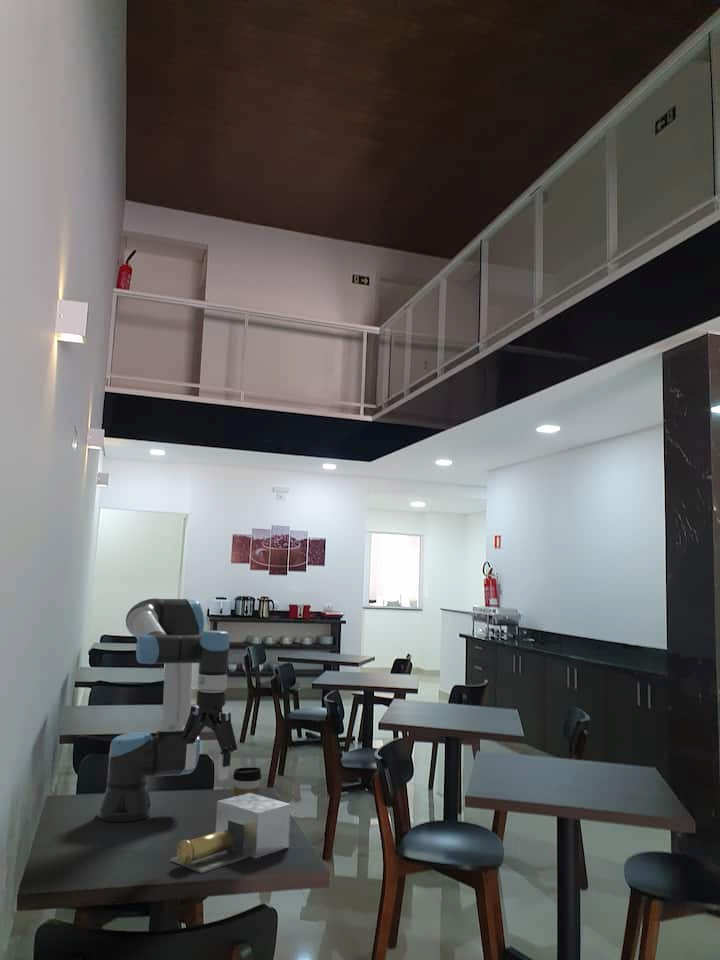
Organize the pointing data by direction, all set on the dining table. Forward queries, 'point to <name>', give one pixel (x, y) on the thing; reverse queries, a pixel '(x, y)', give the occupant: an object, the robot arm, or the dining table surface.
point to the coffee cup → (246, 780)
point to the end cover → (204, 846)
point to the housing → (247, 830)
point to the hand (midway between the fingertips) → (206, 774)
